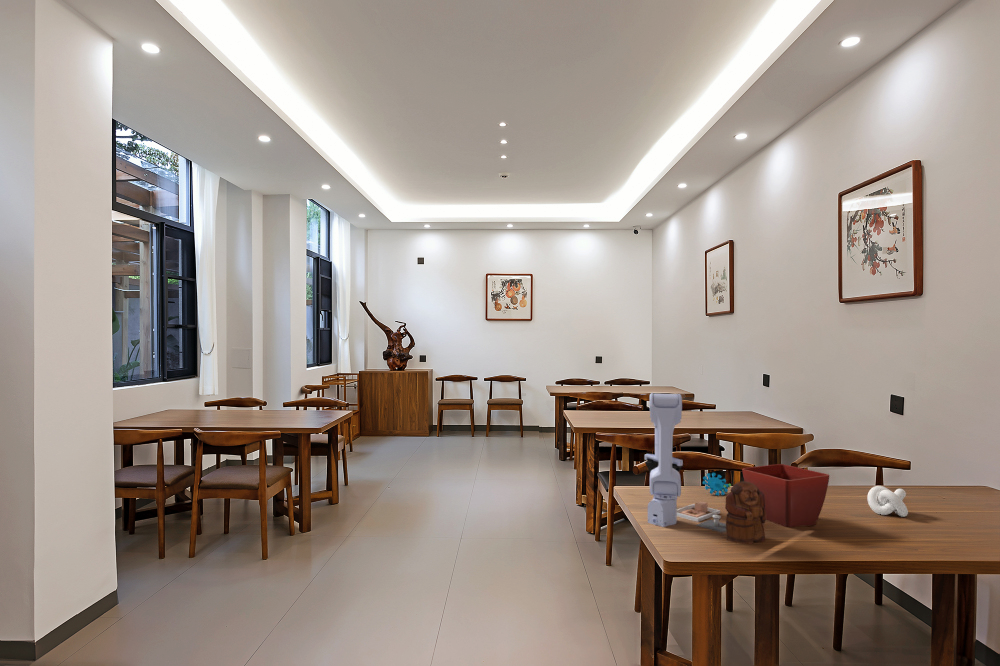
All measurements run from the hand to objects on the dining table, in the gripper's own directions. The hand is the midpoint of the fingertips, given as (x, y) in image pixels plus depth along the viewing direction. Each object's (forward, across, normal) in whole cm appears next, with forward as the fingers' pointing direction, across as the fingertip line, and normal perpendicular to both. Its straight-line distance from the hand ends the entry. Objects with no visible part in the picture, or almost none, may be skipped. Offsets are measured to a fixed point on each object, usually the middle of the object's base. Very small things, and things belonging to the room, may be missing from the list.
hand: (663, 482), depth 198 cm
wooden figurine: (+10, -35, +10) cm, 38 cm away
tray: (+9, -12, -1) cm, 15 cm away
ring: (+9, -12, -2) cm, 15 cm away
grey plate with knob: (+9, -23, +5) cm, 25 cm away
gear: (+10, -1, -35) cm, 36 cm away
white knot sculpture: (+10, -54, -56) cm, 78 cm away
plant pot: (+10, -34, -19) cm, 40 cm away
